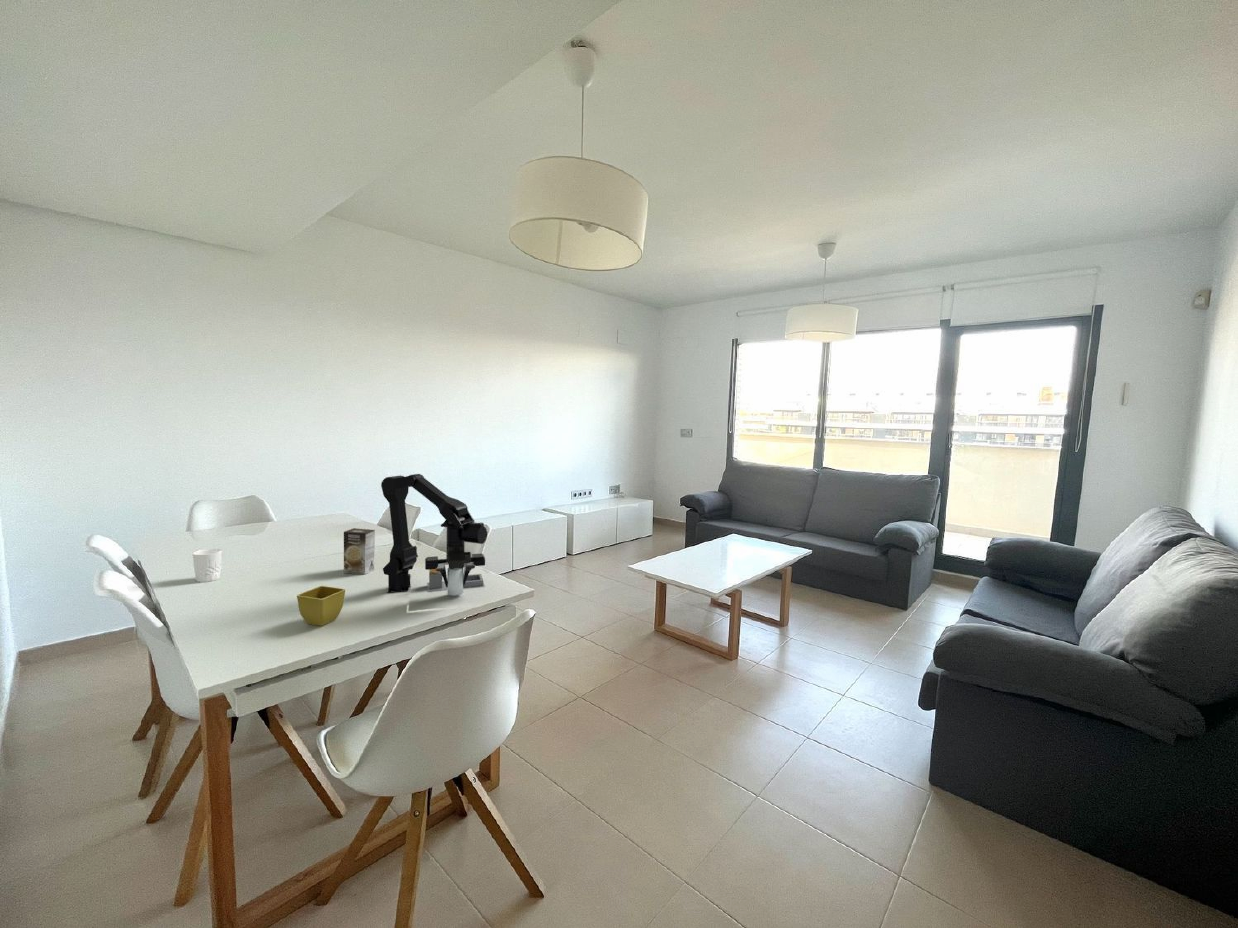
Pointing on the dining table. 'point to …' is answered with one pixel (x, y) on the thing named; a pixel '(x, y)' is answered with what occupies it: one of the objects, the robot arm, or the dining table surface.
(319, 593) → the flower pot
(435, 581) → the gray holder stand
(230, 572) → the dining table surface
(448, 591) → the cylinder
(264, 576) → the dining table surface
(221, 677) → the dining table surface
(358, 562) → the coffee box
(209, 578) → the white cup
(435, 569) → the yellow rounded piece
